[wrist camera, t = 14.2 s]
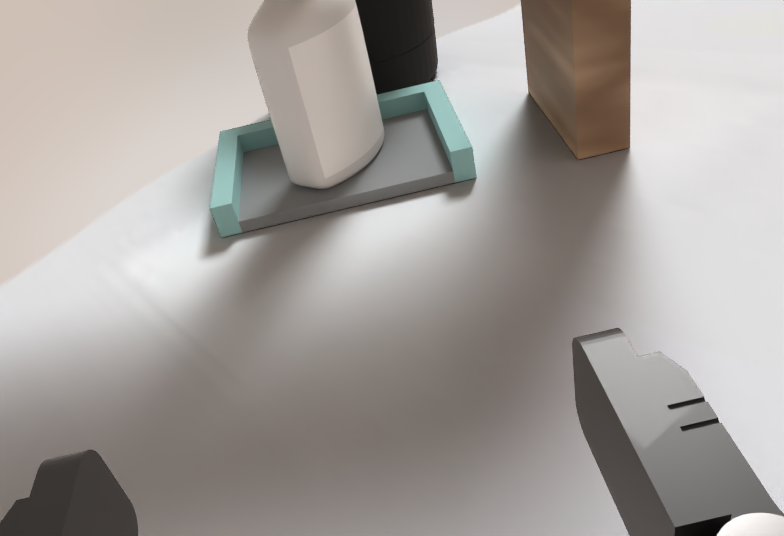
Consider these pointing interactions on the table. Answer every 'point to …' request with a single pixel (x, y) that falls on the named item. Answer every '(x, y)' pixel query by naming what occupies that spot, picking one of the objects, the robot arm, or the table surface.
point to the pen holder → (399, 42)
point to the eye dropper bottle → (317, 88)
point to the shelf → (581, 70)
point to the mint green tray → (372, 183)
